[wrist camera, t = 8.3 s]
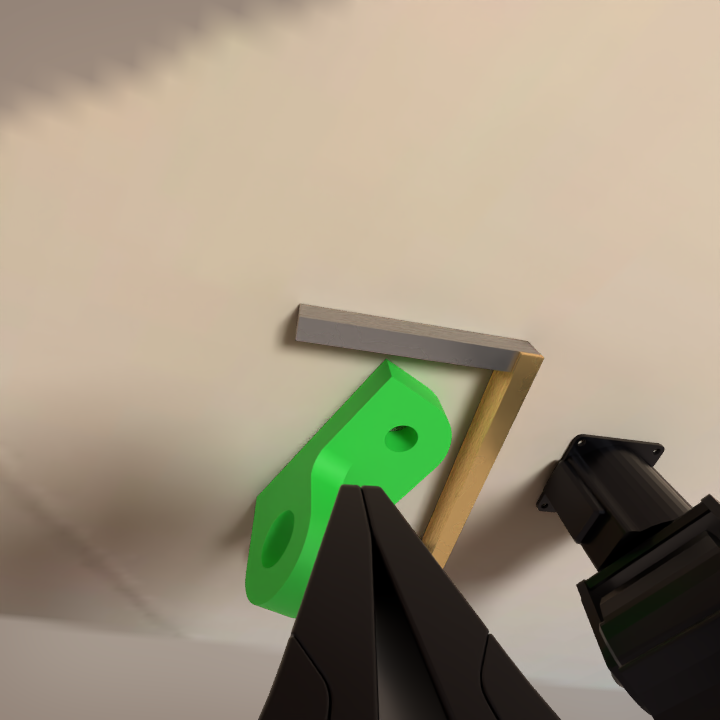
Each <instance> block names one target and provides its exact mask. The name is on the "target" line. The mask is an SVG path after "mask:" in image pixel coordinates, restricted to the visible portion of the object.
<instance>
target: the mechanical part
mask: <svg viewBox="0 0 720 720" xmlns="http://www.w3.org/2000/svg"><path fill="white" fill-rule="evenodd" d="M403 425H404V426H406V427H405V428H403V429H401V430H398V431H390V430H391V429H392V428H394V427H397V426H403ZM451 439H452V432H451V427H450V424H449V421H448V419H447V417H446V415H445V412H444V410H443V408H442V406H441V404H440V402H439V400H438V398H437V396H436V395H435V394H434V393H433V392H432V391H431V390H430V389H429V388H428V387H426V386H425V385H423V384H422V383H420V382H419V381H418V380H416V379H415V378H413V377H412V376H410V375H409V374H408V373H406V372H405V371H403V370H402V369H401V368H399V367H398V366H396V365H395V364H393V363H392V362H391V361H389V360H388V359H385V360H384V362H383V363H382V364H381V365H380V366H379V367H378V368H377V369H376V370H375V371H374V372H373V373H372V374H371V375H370V377H369V378H368V379H367V380H366V381H365V382H364V383H363V384H362V385H361V386H360V387H359V388H358V389H357V390H356V392H355V393H354V394H353V395H352V396H351V397H350V398H349V399H348V400H347V401H346V402H345V403H344V404H343V405H342V407H341V408H340V409H339V410H338V411H337V412H336V413H335V414H334V415H333V416H332V417H331V418H330V419H329V420H328V421H327V423H326V424H325V425H324V426H323V427H322V428H321V429H320V430H319V431H318V432H317V433H316V434H315V435H314V436H313V438H312V439H311V440H310V441H309V442H308V443H307V444H306V445H305V446H304V447H303V448H302V449H301V450H300V451H299V453H298V454H297V455H296V456H295V457H294V458H293V459H292V460H291V461H290V462H289V463H288V464H287V465H286V466H285V468H284V469H283V470H282V471H281V472H280V473H279V474H278V475H277V476H276V477H275V478H274V479H273V480H272V481H271V483H270V484H269V485H268V486H267V487H266V488H265V489H264V490H263V491H262V492H261V493H260V494H259V495H258V496H257V500H256V507H255V514H254V521H253V528H252V535H251V542H250V549H249V556H248V563H247V570H246V579H245V588H246V594H247V597H248V599H249V601H250V602H251V603H252V604H254V605H257V606H260V607H262V608H265V609H268V610H271V611H274V612H277V613H280V614H282V615H285V616H288V617H291V618H296V617H297V614H298V611H299V608H300V605H301V602H302V599H303V596H304V593H305V590H306V587H307V584H308V581H309V578H310V575H311V572H312V569H313V566H314V563H315V560H316V557H317V554H318V551H319V548H320V545H321V542H322V539H323V536H324V533H325V530H326V527H327V524H328V521H329V518H330V515H331V512H332V509H333V506H334V503H335V500H336V497H337V494H338V491H339V488H340V486H341V485H342V484H349V485H359V486H360V488H361V486H363V485H369V486H379V487H381V488H382V489H383V490H384V491H385V493H386V494H387V495H388V497H389V498H390V499H391V501H392V502H393V503H394V505H395V504H396V503H397V502H398V501H399V500H400V499H401V498H403V497H404V496H405V495H406V494H407V493H408V492H409V491H410V490H412V489H413V488H414V487H415V486H416V485H417V484H418V483H419V482H420V481H422V480H423V479H424V478H425V477H426V476H427V475H428V474H429V473H430V472H432V471H433V470H434V469H435V468H436V467H437V466H438V465H439V464H440V463H441V462H442V461H443V459H444V458H445V456H446V454H447V453H448V450H449V448H450V445H451Z"/></svg>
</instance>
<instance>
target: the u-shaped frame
mask: <svg viewBox="0 0 720 720" xmlns="http://www.w3.org/2000/svg"><path fill="white" fill-rule="evenodd" d="M295 340H296V341H302V342H309V343H316V344H323V345H329V346H336V347H343V348H350V349H356V350H363V351H370V352H377V353H383V354H390V355H397V356H404V357H410V358H417V359H424V360H431V361H437V362H444V363H451V364H458V365H464V366H471V367H478V368H485V369H491V370H494V371H493V373H492V375H491V378H490V380H489V382H488V385H487V387H486V389H485V392H484V394H483V397H482V399H481V401H480V404H479V406H478V408H477V411H476V413H475V415H474V418H473V420H472V423H471V425H470V427H469V430H468V432H467V434H466V437H465V439H464V441H463V444H462V446H461V449H460V451H459V453H458V456H457V458H456V460H455V463H454V465H453V467H452V470H451V472H450V474H449V477H448V479H447V482H446V484H445V486H444V489H443V491H442V493H441V496H440V498H439V500H438V503H437V505H436V508H435V510H434V512H433V515H432V517H431V519H430V522H429V524H428V526H427V529H426V531H425V533H424V536H423V538H422V542H423V543H424V545H425V546H426V547H427V549H428V550H429V551H430V553H431V554H432V555H433V557H434V558H435V559H436V561H437V562H438V563H439V565H440V566H441V567H442V569H443V568H444V566H445V564H446V562H447V559H448V557H449V555H450V553H451V551H452V549H453V547H454V545H455V543H456V541H457V539H458V537H459V534H460V532H461V530H462V528H463V526H464V524H465V522H466V520H467V518H468V516H469V514H470V512H471V509H472V507H473V505H474V503H475V501H476V499H477V497H478V495H479V493H480V491H481V489H482V487H483V484H484V482H485V480H486V478H487V476H488V474H489V472H490V470H491V468H492V466H493V464H494V462H495V459H496V457H497V455H498V453H499V451H500V449H501V447H502V445H503V443H504V441H505V439H506V437H507V435H508V432H509V430H510V428H511V426H512V424H513V422H514V420H515V418H516V416H517V414H518V412H519V410H520V407H521V405H522V403H523V401H524V399H525V397H526V395H527V393H528V391H529V389H530V387H531V385H532V382H533V380H534V378H535V376H536V374H537V372H538V370H539V368H540V366H541V364H542V362H543V360H544V357H543V356H542V355H541V354H540V353H539V352H538V351H537V350H536V349H535V348H534V347H533V346H532V345H531V344H530V343H529V342H528V341H523V340H517V339H511V338H505V337H499V336H493V335H487V334H481V333H475V332H469V331H462V330H456V329H450V328H444V327H438V326H432V325H426V324H420V323H414V322H408V321H402V320H396V319H390V318H384V317H378V316H372V315H366V314H359V313H353V312H347V311H341V310H335V309H329V308H323V307H317V306H311V305H305V304H300V307H299V313H298V319H297V325H296V339H295Z"/></svg>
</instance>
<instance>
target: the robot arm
mask: <svg viewBox="0 0 720 720" xmlns="http://www.w3.org/2000/svg"><path fill="white" fill-rule="evenodd" d="M581 440H584V441H583V442H582V443H580V444H578V442H579V441H581ZM656 449H658V450H657V451H656V452H653V451H654V450H656ZM663 452H664V447H663V446H662V445H661V444H659V443H652V442H643V441H635V440H627V439H619V438H611V437H602V436H594V435H586V434H580V435H577V436H576V437H575V438H574V439H573V440H572V442H571V444H570V445H569V447H568V449H567V451H566V452H565V454H564V456H563V458H562V459H561V461H560V462H559V463H558V465H557V467H556V468H555V470H554V472H553V474H552V475H551V477H550V479H549V481H548V482H547V484H546V486H545V488H544V489H543V492H542V494H541V496H540V498H539V499H538V501H537V503H536V507H537V508H538V510H539V511H547V512H557V514H558V516H559V517H560V519H561V520H562V522H563V524H564V525H565V527H566V528H567V530H568V532H569V533H570V535H571V536H572V538H573V540H574V541H575V542H576V543H577V544H581V546H582V547H583V549H584V551H585V552H586V554H587V555H588V557H589V558H590V560H591V562H592V563H593V565H594V566H595V568H596V569H597V571H598V572H597V573H596V574H594V575H593V576H592V577H590V578H589V579H587V580H582V581H581V582H579V583H578V584H577V588H578V591H579V593H580V596H581V601H582V604H583V606H584V609H585V611H586V614H587V616H588V619H589V622H590V624H591V627H592V629H593V632H594V634H595V637H596V639H597V642H598V645H599V647H600V650H601V652H602V655H603V657H604V660H605V662H606V665H607V667H608V669H609V670H610V671H611V674H612V677H613V679H614V680H615V682H616V683H617V684H618V685H619V686H621V687H623V688H624V689H625V690H626V691H627V692H628V694H629V695H630V696H631V697H632V698H633V699H634V700H635V702H636V703H637V704H638V705H639V706H640V707H641V708H642V709H643V710H645V711H646V712H647V713H648V714H650V715H652V717H653V718H654V720H720V502H719V501H718V500H716V499H715V498H714V497H713V496H712V495H710V494H708V495H707V496H706V497H704V498H703V499H701V501H702V502H700V503H699V504H697V505H696V506H695V507H692V506H691V505H690V504H689V503H688V502H687V501H686V500H685V499H684V498H683V497H682V496H681V495H680V494H679V493H678V492H677V491H676V490H675V489H674V488H673V487H672V486H671V485H670V484H669V483H668V482H667V481H666V480H665V479H664V478H663V477H662V476H661V475H660V474H659V473H658V472H657V471H656V470H655V469H654V468H653V466H654V465H655V463H656V462H657V461H658V459H659V458H660V456H661V455H662V454H663ZM544 503H547V504H546V505H544V506H541V505H542V504H544ZM488 633H489V630H488V629H487V627H486V626H485V625H484V623H483V622H482V621H481V619H480V618H479V617H478V615H477V614H476V613H475V611H474V610H473V609H472V607H471V606H470V605H469V603H468V602H467V601H466V599H465V598H464V597H463V595H462V594H461V593H460V591H459V590H458V589H457V587H456V586H455V585H454V583H453V582H452V581H451V579H450V578H449V577H448V575H447V574H446V573H445V571H444V570H443V569H442V567H441V566H440V565H439V563H438V562H437V561H436V559H435V558H434V557H433V555H432V554H431V553H430V551H429V550H428V549H427V547H426V546H425V545H424V543H423V542H422V541H421V539H420V538H419V537H418V535H417V534H416V533H415V531H414V530H413V529H412V527H411V526H410V525H409V523H408V522H407V521H406V519H405V518H404V517H403V515H402V514H401V513H400V511H399V510H398V509H397V507H396V506H395V505H394V503H393V502H392V501H391V499H390V498H389V497H388V495H387V494H386V493H385V491H384V490H383V489H382V488H381V487H379V486H369V485H363V486H361V488H360V486H359V485H349V484H342V485H341V486H340V488H339V491H338V494H337V497H336V500H335V503H334V506H333V509H332V512H331V515H330V518H329V521H328V524H327V527H326V530H325V533H324V536H323V539H322V542H321V545H320V548H319V551H318V554H317V557H316V560H315V563H314V566H313V569H312V572H311V575H310V578H309V581H308V584H307V587H306V590H305V593H304V596H303V599H302V602H301V605H300V608H299V611H298V614H297V617H296V620H295V623H294V626H293V629H292V632H291V636H290V638H289V640H288V643H287V646H286V649H285V652H284V655H283V658H282V661H281V663H280V666H279V669H278V672H277V674H276V677H275V680H274V682H273V685H272V688H271V690H270V693H269V696H268V698H267V700H266V703H265V705H264V707H263V709H262V712H261V714H260V716H259V719H258V720H561V719H560V718H559V717H558V716H557V714H556V713H555V712H554V711H553V710H552V709H551V707H550V706H549V705H548V704H547V703H546V702H545V701H544V699H543V698H542V697H541V696H540V695H539V694H538V692H537V691H536V690H535V689H534V688H533V686H532V685H531V684H530V683H529V681H528V680H527V679H526V678H525V676H524V675H523V674H522V673H521V671H520V670H519V669H518V668H517V666H516V665H515V664H514V662H513V661H512V660H511V659H510V657H509V656H508V655H507V654H506V652H505V651H504V650H503V648H502V647H501V646H500V644H499V643H498V642H497V640H496V639H495V638H494V636H493V635H492V634H488Z"/></svg>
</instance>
